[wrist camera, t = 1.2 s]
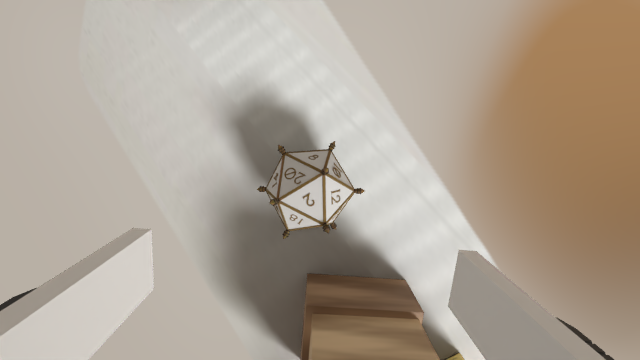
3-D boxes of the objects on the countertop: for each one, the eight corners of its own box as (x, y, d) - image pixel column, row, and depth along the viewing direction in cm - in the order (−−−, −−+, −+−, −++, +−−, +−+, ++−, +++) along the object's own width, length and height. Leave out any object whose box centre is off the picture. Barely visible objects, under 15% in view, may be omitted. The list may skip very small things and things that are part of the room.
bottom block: (391, 362, 36) (407, 409, 30) (300, 357, 36) (297, 404, 30) (404, 278, 34) (423, 312, 28) (307, 272, 33) (306, 305, 28)
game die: (294, 181, 35) (221, 202, 27) (329, 120, 31) (253, 123, 23) (348, 237, 32) (283, 279, 24) (395, 178, 27) (335, 205, 20)
